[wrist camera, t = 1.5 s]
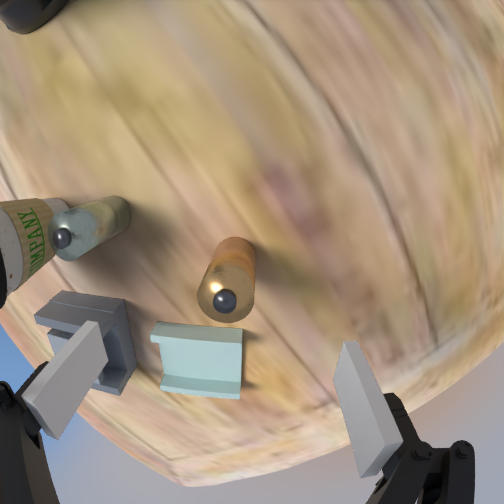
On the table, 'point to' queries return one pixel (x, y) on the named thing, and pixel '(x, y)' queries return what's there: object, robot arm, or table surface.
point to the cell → (229, 282)
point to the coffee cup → (24, 240)
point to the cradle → (111, 327)
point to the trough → (200, 359)
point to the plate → (60, 339)
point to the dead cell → (87, 226)
